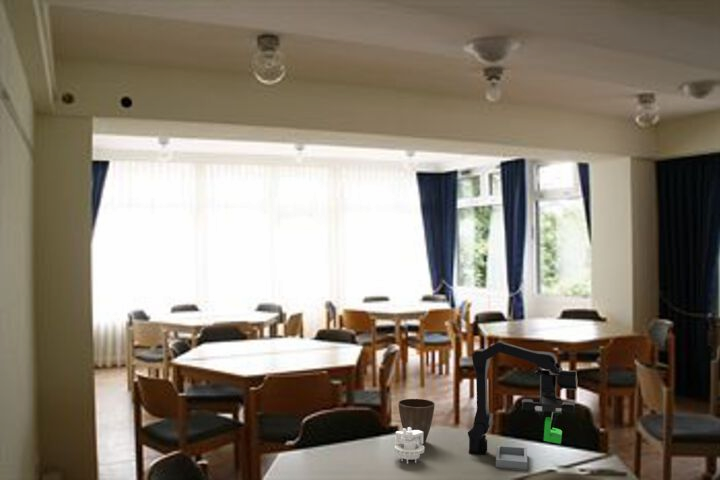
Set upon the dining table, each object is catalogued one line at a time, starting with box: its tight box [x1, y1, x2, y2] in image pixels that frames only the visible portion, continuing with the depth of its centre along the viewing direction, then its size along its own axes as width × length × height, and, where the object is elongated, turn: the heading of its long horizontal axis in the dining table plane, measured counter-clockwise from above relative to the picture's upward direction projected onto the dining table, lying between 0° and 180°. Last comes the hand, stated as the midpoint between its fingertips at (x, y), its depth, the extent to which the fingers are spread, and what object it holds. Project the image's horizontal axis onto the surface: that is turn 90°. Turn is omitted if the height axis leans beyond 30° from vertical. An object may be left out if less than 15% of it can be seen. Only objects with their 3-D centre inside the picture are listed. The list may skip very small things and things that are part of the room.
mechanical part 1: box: [394, 427, 425, 465], centre depth 237 cm, size 11×12×12 cm
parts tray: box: [495, 445, 528, 472], centre depth 237 cm, size 11×17×3 cm, turn 166°
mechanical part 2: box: [543, 416, 563, 444], centre depth 236 cm, size 12×6×8 cm, turn 160°
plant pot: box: [397, 398, 436, 445], centre depth 259 cm, size 15×15×16 cm
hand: (547, 429), depth 236 cm, fingers closed on mechanical part 2, 2 cm apart
